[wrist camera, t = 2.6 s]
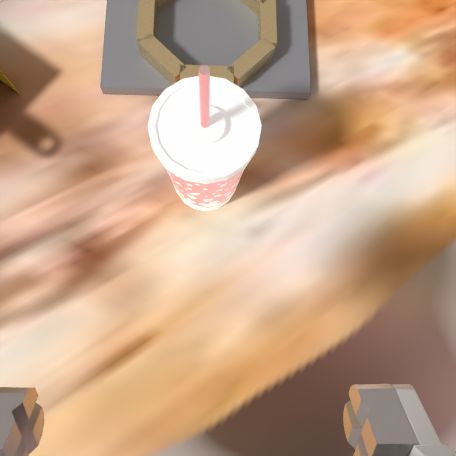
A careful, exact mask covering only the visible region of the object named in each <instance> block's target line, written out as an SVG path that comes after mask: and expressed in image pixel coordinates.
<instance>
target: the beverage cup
mask: <svg viewBox="0 0 456 456" xmlns="http://www.w3.org/2000/svg"><path fill="white" fill-rule="evenodd" d="M261 127H262V125H261V121H260V117H259V113H258V110H257V106H256V105H255V103H254V102H253V101H252V99H251V98H250V97H249V96H248V94H247V93H246V92H245V91H244V89H242V88H240V87H239V86H237V85H235V84H234V83H232V82H230V81H228V80H227V79H224V78H219V77H213V76H210V68H209V67H208V66H206V65H202V66H200V68H199V76H195V77H189V78H184V79H181V80H180V81H178V82H176V83H175V84H173V85H171V86H170V87H168V88H166V89H165V90H164V91H163V92H162V94H161V95H160V96H159V98H158V99H157V100H156V102H155V103H154V104H153V106H152V109H151V114H150V118H149V122H148V131H149V135H150V140H151V145H152V149H153V150H154V153H155V154H156V156H157V157H158V158H159V160H160V161H161V163H162V164H163V165H164V167H165V168H166V169H167V171H168V173H169V176H170V178H171V180H172V182H173V185H174V187H175V189H176V191H177V193H178V195H179V196H180V198H181V199H182V200H183V202H184V203H186V204H187V205H189V206H190V207H192V208H194V209H197V210H203V211H209V210H214V209H218V208H220V207H221V206H223V205H224V204H226V203H227V202H228V201H229V200H230V198H231V197H232V195H233V194H234V192H235V190H236V188H237V185H238V183H239V180H240V178H241V175H242V173H243V171H244V169H245V168H246V166H247V165H248V163H249V162H250V160H251V159H252V157H253V156H254V154H255V153H256V150H257V148H258V145H259V139H260V133H261Z"/></svg>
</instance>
